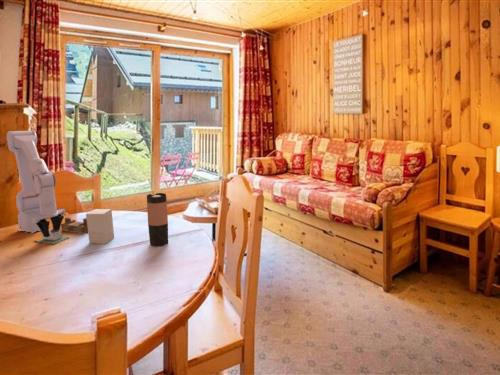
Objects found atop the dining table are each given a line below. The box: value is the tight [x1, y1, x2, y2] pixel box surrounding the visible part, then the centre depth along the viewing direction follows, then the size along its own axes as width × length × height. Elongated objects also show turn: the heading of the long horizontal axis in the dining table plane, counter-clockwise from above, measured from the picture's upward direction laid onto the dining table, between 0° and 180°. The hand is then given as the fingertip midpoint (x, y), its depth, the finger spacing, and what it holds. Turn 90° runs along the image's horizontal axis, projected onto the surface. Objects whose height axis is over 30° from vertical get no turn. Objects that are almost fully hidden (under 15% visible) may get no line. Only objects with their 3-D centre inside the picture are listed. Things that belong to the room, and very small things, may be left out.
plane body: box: [60, 217, 88, 234], centre depth 154 cm, size 13×5×6 cm, turn 72°
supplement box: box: [85, 208, 115, 245], centre depth 141 cm, size 7×7×13 cm
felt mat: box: [36, 235, 70, 245], centre depth 142 cm, size 10×8×1 cm
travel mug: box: [146, 192, 169, 247], centre depth 137 cm, size 8×8×20 cm
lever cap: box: [40, 227, 63, 241], centre depth 142 cm, size 6×4×4 cm
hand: (51, 234), depth 142 cm, fingers closed on lever cap, 4 cm apart
